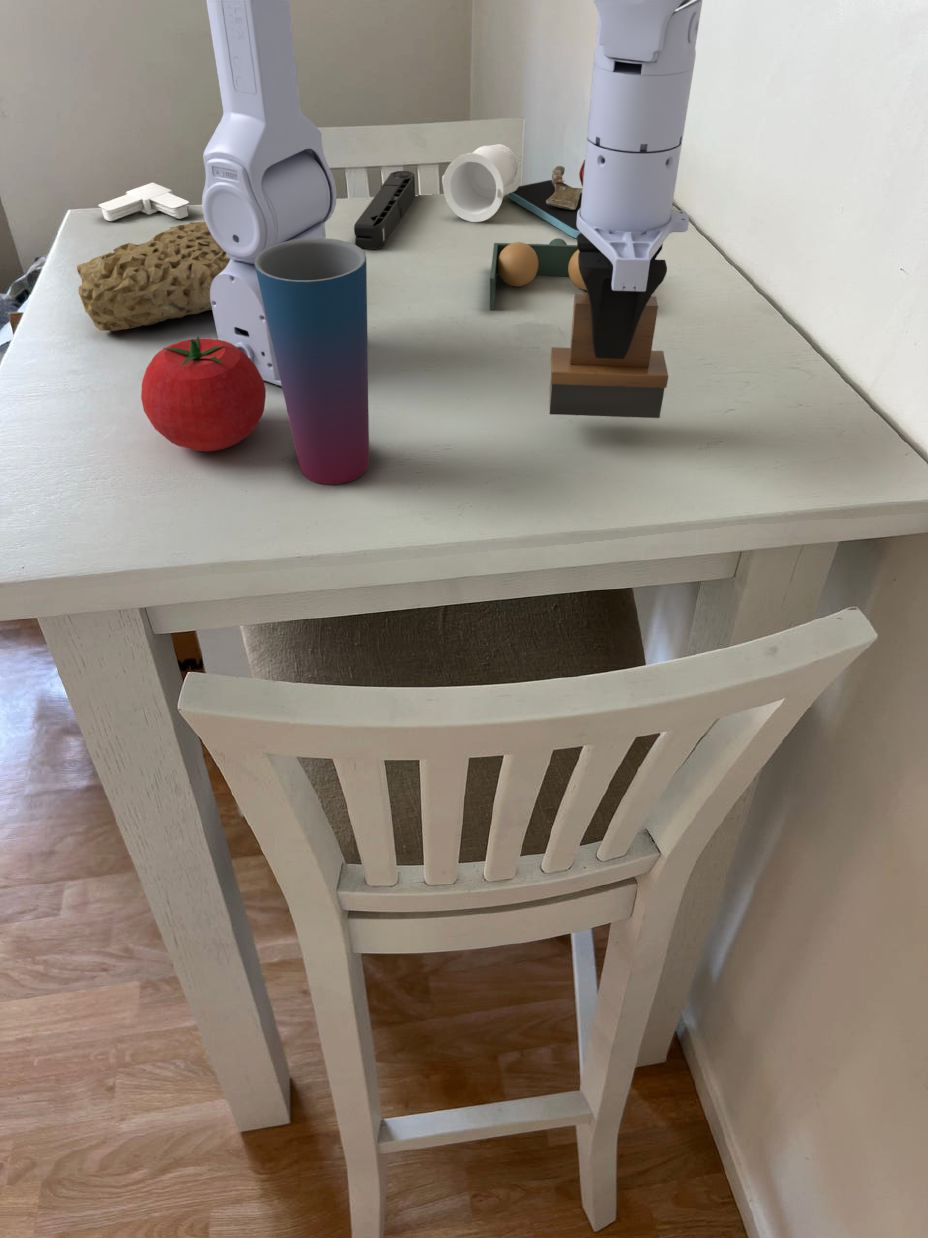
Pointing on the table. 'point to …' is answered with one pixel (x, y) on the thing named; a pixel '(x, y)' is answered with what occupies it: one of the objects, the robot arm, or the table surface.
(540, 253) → the green u-shaped pusher
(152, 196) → the corner connector
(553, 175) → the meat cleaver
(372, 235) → the tablet stand
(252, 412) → the tomato
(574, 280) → the ball
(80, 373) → the table surface
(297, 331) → the cup
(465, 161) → the downlight
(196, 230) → the sponge
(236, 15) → the robot arm
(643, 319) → the brush
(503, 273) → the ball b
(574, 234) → the smartphone
